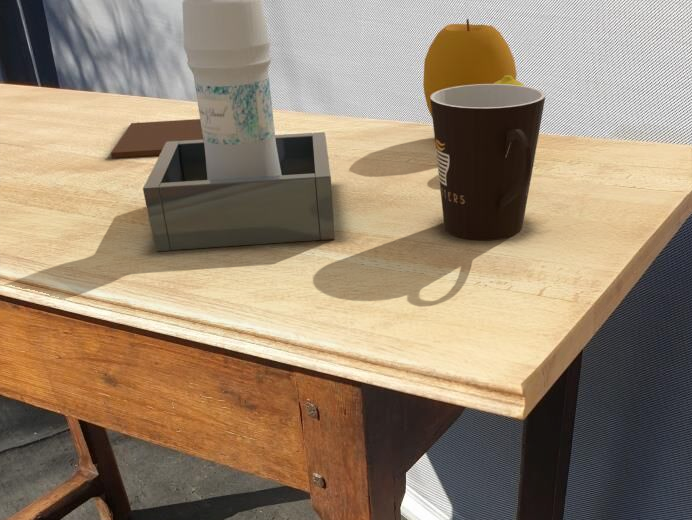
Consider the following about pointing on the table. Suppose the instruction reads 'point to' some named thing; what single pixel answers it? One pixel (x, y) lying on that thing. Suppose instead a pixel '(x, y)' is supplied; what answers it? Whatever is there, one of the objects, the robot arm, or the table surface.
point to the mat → (155, 137)
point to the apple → (466, 58)
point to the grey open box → (240, 198)
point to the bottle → (232, 86)
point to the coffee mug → (485, 156)
